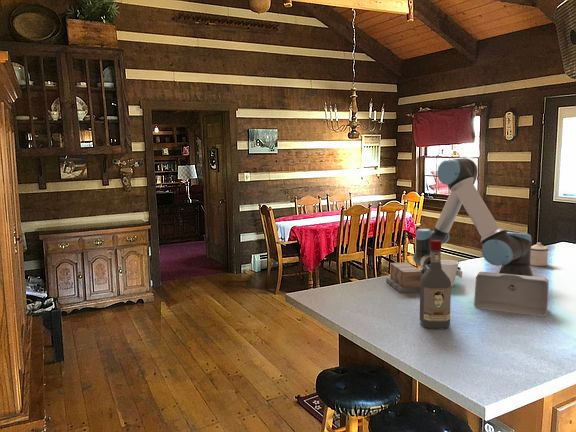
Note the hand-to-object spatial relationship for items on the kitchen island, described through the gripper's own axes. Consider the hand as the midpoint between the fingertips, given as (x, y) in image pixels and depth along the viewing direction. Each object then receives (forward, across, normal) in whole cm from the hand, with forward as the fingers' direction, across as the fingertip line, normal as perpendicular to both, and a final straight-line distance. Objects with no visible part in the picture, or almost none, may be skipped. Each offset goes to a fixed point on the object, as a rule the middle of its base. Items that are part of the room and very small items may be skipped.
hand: (451, 275), depth 208 cm
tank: (+27, -11, -6) cm, 30 cm away
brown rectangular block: (-7, +19, -6) cm, 21 cm away
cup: (-5, 0, -6) cm, 8 cm away
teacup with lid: (-35, -63, -6) cm, 72 cm away
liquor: (+42, +26, -6) cm, 49 cm away
